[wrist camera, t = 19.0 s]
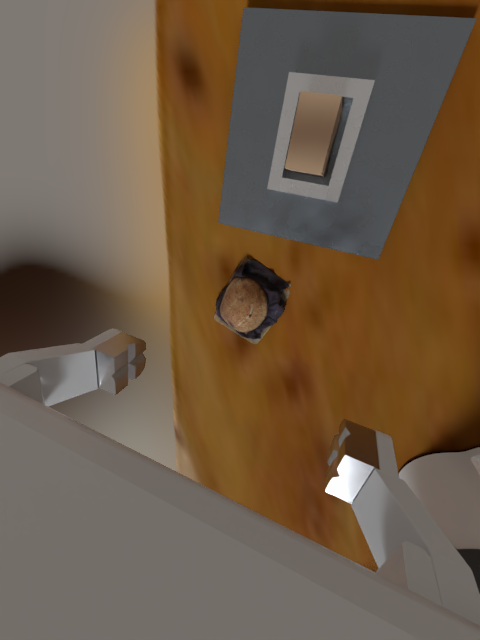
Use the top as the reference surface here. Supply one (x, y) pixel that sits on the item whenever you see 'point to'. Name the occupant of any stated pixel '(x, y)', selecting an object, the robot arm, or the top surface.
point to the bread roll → (251, 300)
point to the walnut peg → (314, 133)
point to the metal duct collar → (355, 126)
